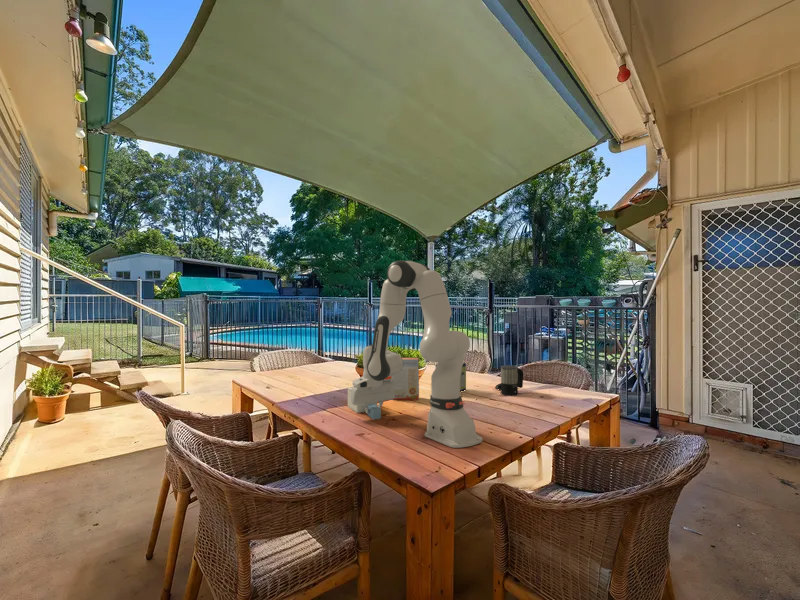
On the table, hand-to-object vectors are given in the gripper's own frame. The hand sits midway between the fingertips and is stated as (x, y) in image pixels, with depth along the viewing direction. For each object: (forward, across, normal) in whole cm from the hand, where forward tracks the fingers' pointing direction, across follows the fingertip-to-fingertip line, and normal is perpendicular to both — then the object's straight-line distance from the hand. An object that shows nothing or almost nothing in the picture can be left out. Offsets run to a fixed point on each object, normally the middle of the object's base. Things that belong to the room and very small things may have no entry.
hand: (373, 411), depth 167 cm
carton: (+2, 0, -12) cm, 13 cm away
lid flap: (-7, 0, -13) cm, 14 cm away
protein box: (+2, -55, -18) cm, 58 cm away
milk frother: (+2, -81, -2) cm, 81 cm away
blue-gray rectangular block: (+2, 0, 0) cm, 2 cm away
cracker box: (+2, -26, -18) cm, 31 cm away
